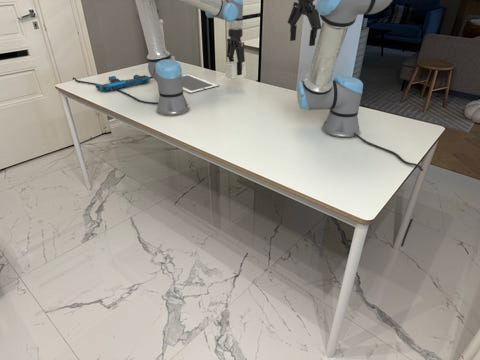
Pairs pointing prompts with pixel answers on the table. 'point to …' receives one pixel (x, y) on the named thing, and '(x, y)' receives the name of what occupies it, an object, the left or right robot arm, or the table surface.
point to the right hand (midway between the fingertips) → (302, 43)
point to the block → (234, 70)
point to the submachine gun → (122, 82)
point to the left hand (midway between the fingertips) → (235, 72)
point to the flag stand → (163, 36)
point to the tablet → (195, 83)
